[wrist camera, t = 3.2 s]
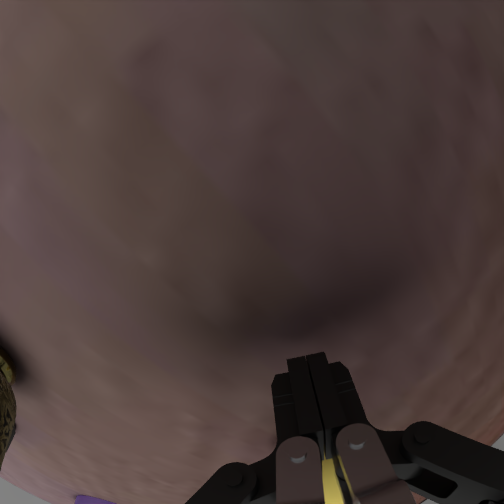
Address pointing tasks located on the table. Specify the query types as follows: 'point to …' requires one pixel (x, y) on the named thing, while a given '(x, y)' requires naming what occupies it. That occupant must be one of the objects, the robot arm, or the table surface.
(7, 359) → the cup
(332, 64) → the table surface
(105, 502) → the masking tape
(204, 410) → the table surface
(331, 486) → the ball
